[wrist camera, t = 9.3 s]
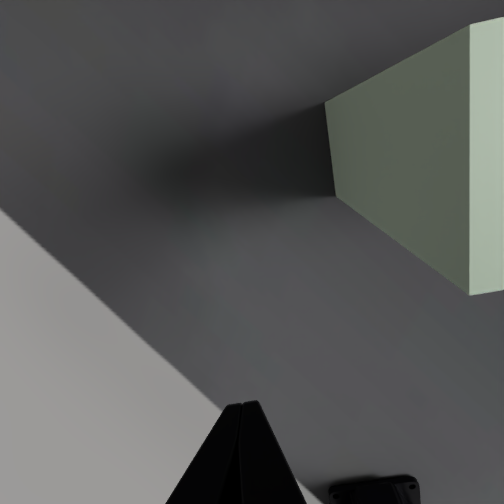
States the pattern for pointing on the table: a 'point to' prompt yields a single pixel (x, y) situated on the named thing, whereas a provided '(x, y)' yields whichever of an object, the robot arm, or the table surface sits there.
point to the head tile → (431, 154)
